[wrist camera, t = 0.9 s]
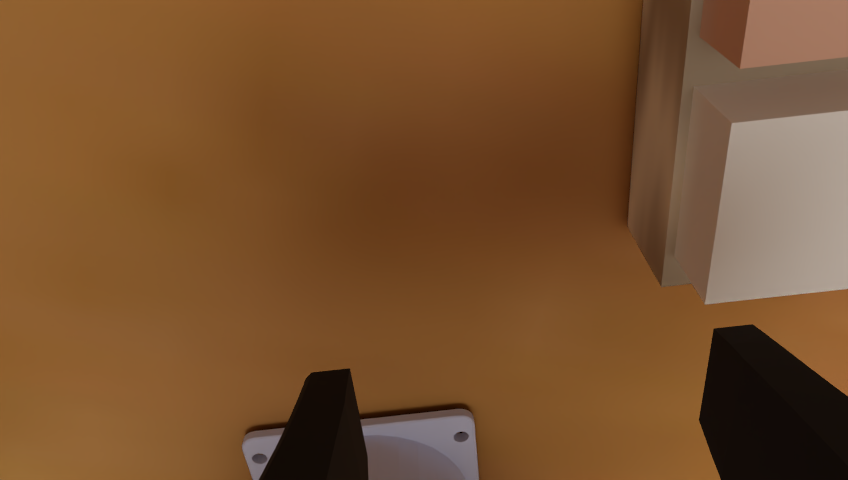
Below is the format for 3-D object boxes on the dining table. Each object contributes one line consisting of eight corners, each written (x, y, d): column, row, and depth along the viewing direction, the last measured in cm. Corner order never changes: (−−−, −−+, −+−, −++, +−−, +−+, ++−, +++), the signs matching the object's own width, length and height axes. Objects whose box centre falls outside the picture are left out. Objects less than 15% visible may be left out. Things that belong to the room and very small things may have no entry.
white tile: (851, 236, 18) (900, 283, 16) (674, 256, 18) (704, 304, 16) (898, 63, 16) (961, 97, 14) (693, 86, 16) (731, 123, 14)
